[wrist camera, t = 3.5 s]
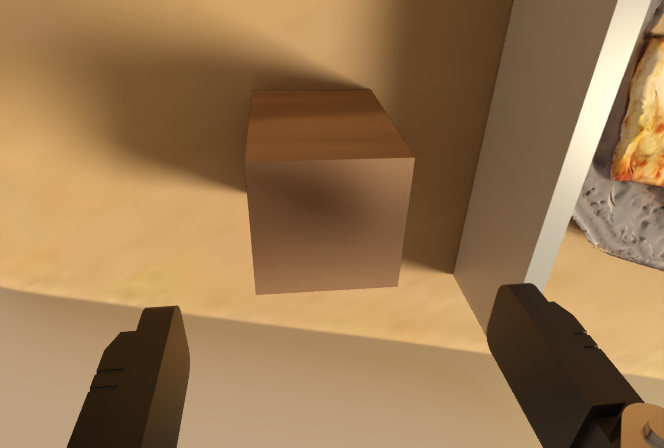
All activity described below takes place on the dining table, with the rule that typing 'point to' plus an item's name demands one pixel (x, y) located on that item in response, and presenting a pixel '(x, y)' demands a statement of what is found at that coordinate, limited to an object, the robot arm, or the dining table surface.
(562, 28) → the grey divider panel
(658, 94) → the food plate
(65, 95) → the dining table surface
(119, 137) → the dining table surface
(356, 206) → the walnut block
